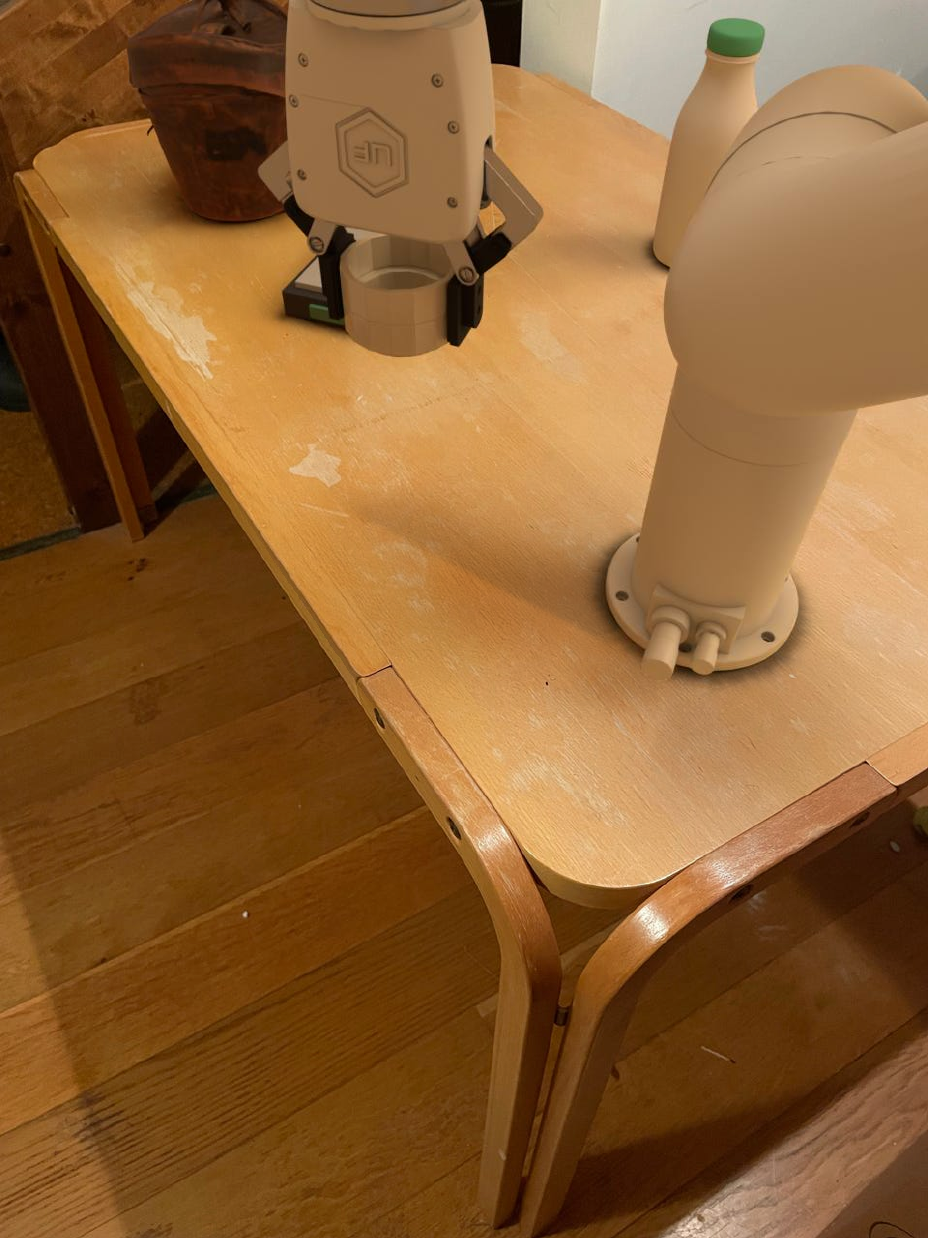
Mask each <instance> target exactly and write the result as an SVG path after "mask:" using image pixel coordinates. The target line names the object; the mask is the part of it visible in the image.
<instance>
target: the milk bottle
mask: <svg viewBox="0 0 928 1238" xmlns="http://www.w3.org/2000/svg"><path fill="white" fill-rule="evenodd" d="M765 35H766V29H765V27H764V26H763V25H762V24H761V23H759V22H757V21H755V20H750V19H747V18H741V17H740V18H739V17H738V18H737V17H728V18H727V17H726V18H721V19H717V20H714V21H713V22H712V23H711V24H710V26H709V28H708V31H707V37H706V46H705V47H706V48H705V49H704V54H705V63H704V66H703V69H702V71H701V72H700V75H699V77H698V78H697V82H696V83H695V85H694V86H693V89H692V90H691V92H690V94H689V95H688V96H687V98H686V100H685V101H684V103H683V105H682V107H681V109H680V110H679V113H678V115H677V118H676V121H675V125H674V127H673V131H672V136H671V141H670V145H669V149H668V150H669V151H668V156H667V160H666V166H665V171H664V176H663V182H662V188H661V193H660V200H659V205H658V210H657V215H656V216H657V217H656V221H655V222H656V223H655V228H654V234H653V241H652V250H653V254H654V256H655V258H656V259H657V260H658V261H659V262H661V263H662V264H663V265H664V266H667V267H669V268H670V266H671V263H672V261H673V258H674V256H675V253H676V251H677V248H678V245H679V243H680V241H681V239H682V237H683V235H684V232H685V230H686V229H687V227H688V225H689V223H690V221H691V220H692V218H693V216H694V214H695V212H696V211H697V209H698V207H699V205H700V203H701V202H702V200H703V198H704V195H705V193H706V191H707V189H708V187H709V185H710V183H711V181H712V179H713V177H714V175H715V173H716V172H717V170H718V168H719V166H720V164H721V163H722V161H723V159H724V157H725V156H726V154H727V152H728V150H729V148H730V147H731V145H732V144H733V142H734V140H735V139H736V137H737V136H738V134H739V133H740V132H741V130H742V129H743V127H744V126H745V125H746V123H747V122H748V121H749V120H750V119H751V117H752V116H753V115H754V114H755V113H756V112H757V111H758V110H759V107H758V102H757V101H758V100H757V96H756V88H755V67H756V62H757V61H758V60H759V59H760V58H761V50H762V48H763V44H764V40H765Z"/></svg>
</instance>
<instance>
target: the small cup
mask: <svg viewBox="0 0 928 1238" xmlns="http://www.w3.org/2000/svg"><path fill="white" fill-rule="evenodd" d="M454 274H455V272H454V269H453V267H452V265H451V263H450V261H449V259H448V256H447V254H446V252H445V250H444V248H443V245H442V244H434V243H428V242H422V241H416V240H411V239H406V238H401V237H395V236H390V235H385V234H380V233H378V234H374V235H369V236H366V237H364V238H362V239H360V240H358V241H356V242H354V243H352V244H351V245H349V247H348V248H347V249H346V250H345V251H344V252H343V253H342V255H341V257H340V276H341V286H342V296H343V305H344V315H345V325H346V328H345V331H346V332H347V334H348V336H349V337H350V338H351V340H352V341H353V342H354V343H356V344H357V345H359V346H361V347H362V348H364V349H365V350H368V351H370V352H371V353H377V354H379V355H382V356H386V357H392V358H411V357H418V356H422V355H426V354H428V353H431V352H434V351H437V350H438V349H440V348H442V347H444V346H445V345H447V344H449V342H447V285H448V283H449V281H450V280H451V278H452V277H453V275H454Z"/></svg>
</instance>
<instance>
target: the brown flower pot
mask: <svg viewBox="0 0 928 1238" xmlns="http://www.w3.org/2000/svg"><path fill="white" fill-rule="evenodd" d="M287 20H288V9H286V8H285V7H284V6H282V5H281V4H279V3H277V2H276V1H274V0H190V1H187V2H185V3H183V4H181V5H180V6H178V7H176V8H174V9H172V10H170V11H168V12H166V13H164V14H163V15H161V16H160V17H158V18H157V19H155V20H154V21H153V22H152V23H150V24H149V25H148V26H146V27H144V28H143V29H142V30H139V32H137V33H136V34H135V35H133V36H131V37H128V38H127V40H126V42H125V48H126V49H125V50H126V52H127V61H128V73H129V74H128V75H129V76H128V77H129V83H130V85H131V87H132V88H135V89H137V92H138V95H139V96H140V98H141V101H142V103H143V105H144V107H145V109H146V113H147V115H148V118H149V120H150V123H151V125H150V127H149V128H148V129H147V131H146V136H147V137H149V134H150V133H151V132H152V130H154V132H155V135H156V137H157V140H158V143H159V145H160V148H161V150H162V152H163V154H164V156H165V159H166V161H167V163H168V166H169V169H170V171H171V173H172V175H173V179H174V180H175V182H176V185H177V187H178V190H179V192H180V194H181V197H182V199H183V201H184V203H185V205H186V206H187V208H188V209H189V210H190V211H191V212H193V213H194V214H197V215H198V216H201V217H203V218H206V219H210V220H214V221H218V222H219V221H220V222H248V221H256V220H260V219H264V218H268V217H272V216H274V215H276V214H277V215H278V214H279V213H282V212H284V211H285V210H284V204H283V203H282V202H281V201H280V202H279V201H278V199H277V198H276V197H275V196H274V194H273V193H272V192H271V191H270V189H269V188H268V187H267V186H266V184H265V183H264V182H263V181H262V179H261V178H260V176H259V173H258V168H259V166H260V165H261V164H262V163H263V162H264V161H266V160H267V159H268V158H269V157H270V156H271V155H272V154H273V153H274V152H275V151H276V150H277V149H278V148H279V147H280V146H281V145H282V144H283V143H284V142H285V141H287V140H288V135H287V117H286V91H285V67H286V37H287Z"/></svg>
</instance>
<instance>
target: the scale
mask: <svg viewBox="0 0 928 1238" xmlns="http://www.w3.org/2000/svg"><path fill="white" fill-rule="evenodd" d="M346 230H347V233H352V234H354V239H355V240H356V241H358V240H360V239H362V238H364V237H366V236H369V235H374V234H378V233H375V232H370V231H365V230H360V229H355V228H350V227H347V228H346ZM281 295H282V301H283V306H284V313H285V315H286V316H290V317H295V318H298V319H303V320H308V321H312V322H317V323H321V324H324V325H325V324H326V325H329V326H335V327H338V328H342V329H346V325H345V316H344V318H343V319H340V320H339V321H338V320H333V319H330V318H329V313H328V304H327V297H325V296H324V295H323V293H322V285H321V277H320V269H319V260H318V255H316V254H315V256H314V257H313V258H312V259H311V260H310V261H309V262H308V263H307V264H306V265H305V266H304V267H303V269H301V270H300V271H299V273H298V274H297V275H295V277H294V278H293V279H292V280H290V282H289V283H287V285H286V286H285V287H284V288H283V289H282V290H281Z"/></svg>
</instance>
